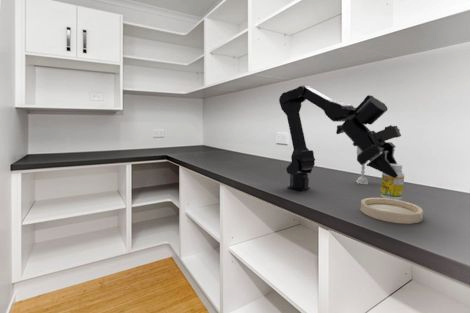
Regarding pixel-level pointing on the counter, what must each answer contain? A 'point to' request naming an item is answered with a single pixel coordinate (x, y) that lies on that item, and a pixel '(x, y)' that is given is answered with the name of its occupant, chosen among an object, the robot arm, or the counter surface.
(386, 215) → the round tray
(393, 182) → the supplement bottle
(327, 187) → the counter surface
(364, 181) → the chalice
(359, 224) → the counter surface
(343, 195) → the counter surface
